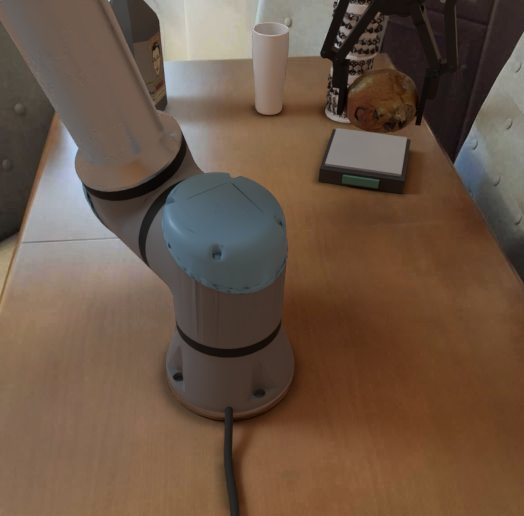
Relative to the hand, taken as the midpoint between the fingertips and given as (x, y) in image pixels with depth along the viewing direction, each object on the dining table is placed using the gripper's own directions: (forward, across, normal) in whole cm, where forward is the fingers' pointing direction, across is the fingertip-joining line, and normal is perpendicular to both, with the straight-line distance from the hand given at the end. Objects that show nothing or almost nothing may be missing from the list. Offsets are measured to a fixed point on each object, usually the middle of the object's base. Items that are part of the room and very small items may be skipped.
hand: (379, 115), depth 82 cm
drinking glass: (+17, +23, -30) cm, 41 cm away
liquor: (+16, +47, -22) cm, 55 cm away
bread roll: (0, 0, 0) cm, 0 cm away
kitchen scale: (+16, +2, -14) cm, 22 cm away
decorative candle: (+17, +8, -33) cm, 38 cm away
